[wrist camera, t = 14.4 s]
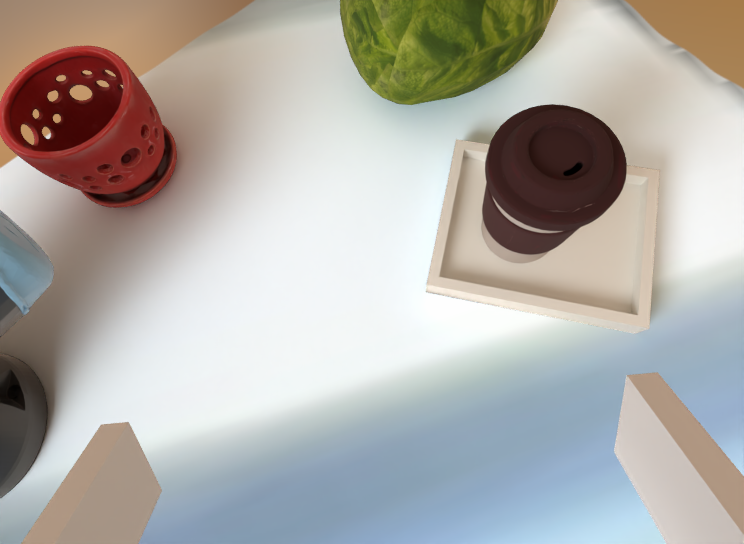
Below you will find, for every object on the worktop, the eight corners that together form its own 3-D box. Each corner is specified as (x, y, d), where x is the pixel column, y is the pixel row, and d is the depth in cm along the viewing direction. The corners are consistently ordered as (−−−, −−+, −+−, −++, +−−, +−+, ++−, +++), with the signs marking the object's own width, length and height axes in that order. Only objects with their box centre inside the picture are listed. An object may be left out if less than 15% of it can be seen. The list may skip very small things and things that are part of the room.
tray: (425, 292, 47) (426, 284, 45) (454, 153, 52) (456, 139, 49) (635, 333, 44) (649, 328, 42) (646, 183, 49) (659, 170, 46)
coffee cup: (464, 187, 49) (486, 93, 35) (562, 184, 48) (625, 86, 34) (470, 279, 46) (496, 216, 32) (574, 276, 45) (649, 212, 31)
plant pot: (207, 177, 53) (151, 112, 42) (103, 237, 52) (17, 186, 41) (162, 97, 57) (100, 18, 46) (64, 151, 56) (-25, 83, 45)
